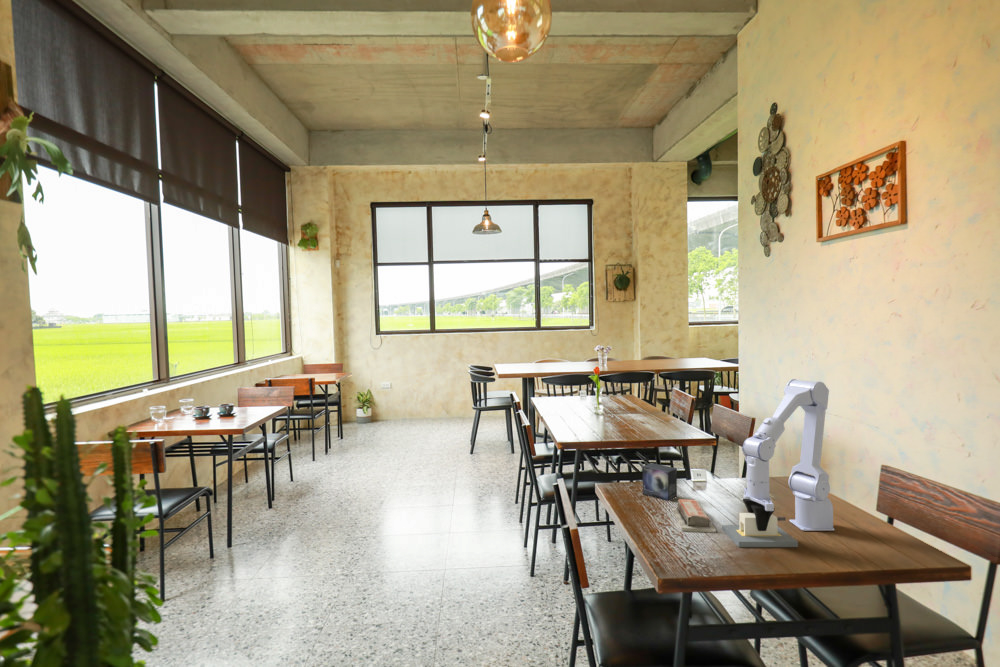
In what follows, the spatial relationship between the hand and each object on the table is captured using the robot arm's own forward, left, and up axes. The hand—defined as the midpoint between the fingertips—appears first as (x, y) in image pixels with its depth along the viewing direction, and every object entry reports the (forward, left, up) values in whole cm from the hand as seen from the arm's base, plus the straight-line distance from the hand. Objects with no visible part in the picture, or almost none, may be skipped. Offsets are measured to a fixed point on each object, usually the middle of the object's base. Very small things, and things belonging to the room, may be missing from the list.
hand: (758, 527), depth 152 cm
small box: (+18, -38, -3) cm, 42 cm away
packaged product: (+14, -14, -4) cm, 20 cm away
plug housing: (-1, 0, -1) cm, 2 cm away
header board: (0, 0, -3) cm, 3 cm away
